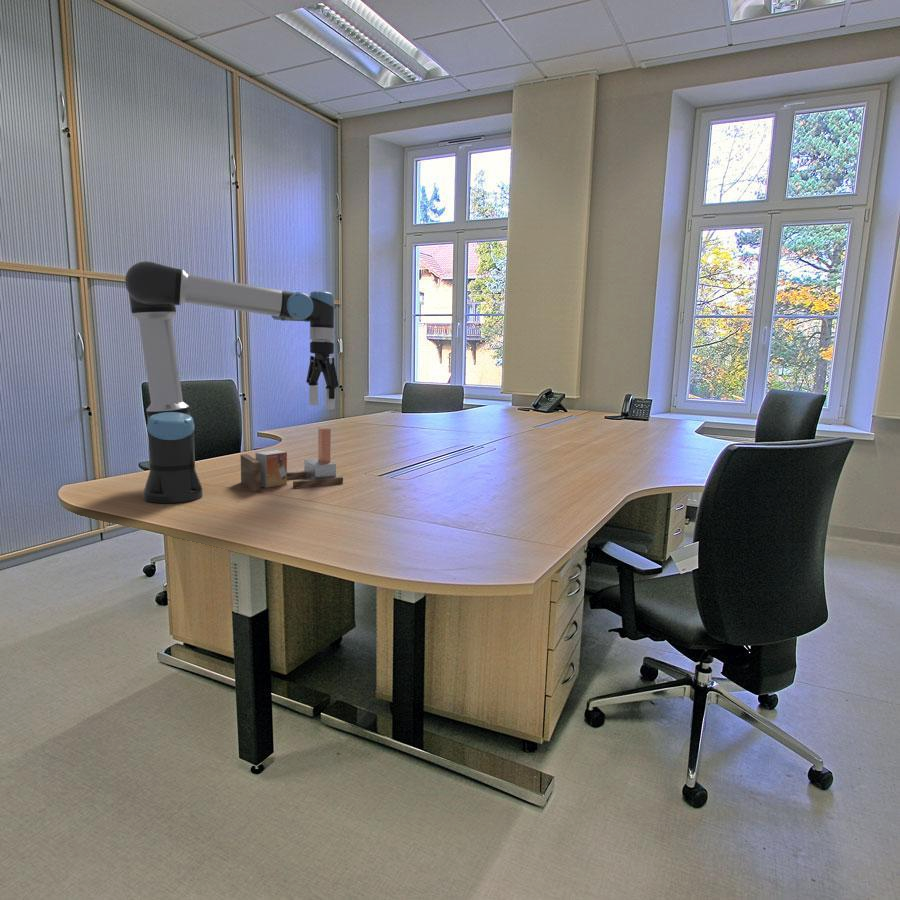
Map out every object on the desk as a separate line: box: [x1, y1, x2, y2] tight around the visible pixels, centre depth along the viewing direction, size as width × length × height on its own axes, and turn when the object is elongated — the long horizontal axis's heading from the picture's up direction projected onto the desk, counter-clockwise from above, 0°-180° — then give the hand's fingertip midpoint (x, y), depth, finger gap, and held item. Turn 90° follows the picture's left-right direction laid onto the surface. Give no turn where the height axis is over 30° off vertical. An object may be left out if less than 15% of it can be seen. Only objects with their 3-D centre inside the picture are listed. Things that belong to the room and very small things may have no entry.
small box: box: [255, 449, 288, 489], centre depth 188 cm, size 8×6×10 cm
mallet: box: [303, 427, 337, 480], centre depth 197 cm, size 7×10×17 cm
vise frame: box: [240, 453, 344, 493], centre depth 192 cm, size 28×15×9 cm, turn 123°
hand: (321, 407), depth 197 cm, fingers open, 13 cm apart
